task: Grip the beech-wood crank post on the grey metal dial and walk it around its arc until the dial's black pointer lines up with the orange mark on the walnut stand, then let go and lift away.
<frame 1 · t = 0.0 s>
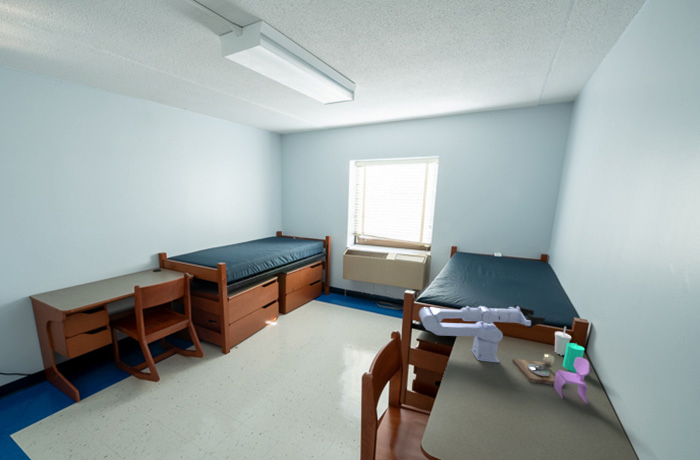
hand: (538, 316, 119), 22 cm above the table, tool horizontal, fingers open, 7 cm apart
candle: (570, 368, 120), on the table
smoothie: (559, 353, 131), on the table
chair: (569, 395, 102), on the table
stand: (536, 373, 114), on the table
crank dial: (542, 363, 113), point 4 cm above the table, hinge at 0.0°
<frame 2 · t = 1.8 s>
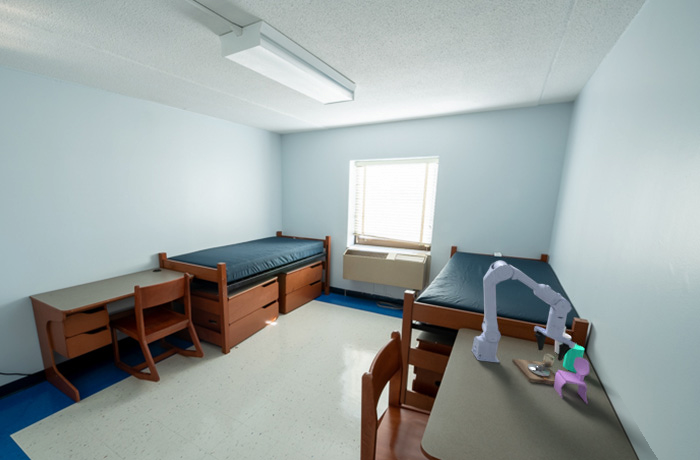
hand: (549, 354, 115), 8 cm above the table, tool pointing down, fingers open, 7 cm apart
nothing on the table moved.
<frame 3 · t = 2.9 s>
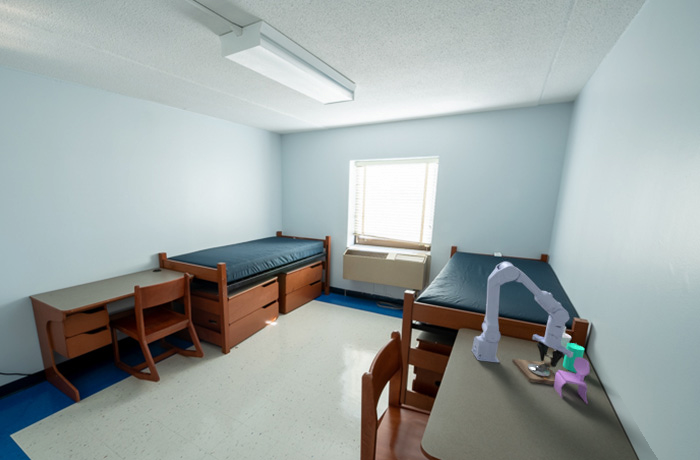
hand: (548, 363, 115), 4 cm above the table, tool pointing down, fingers closed on crank dial, 4 cm apart
crank dial: (542, 363, 113), point 4 cm above the table, hinge at 0.0°, touching gripper
everything else where it was.
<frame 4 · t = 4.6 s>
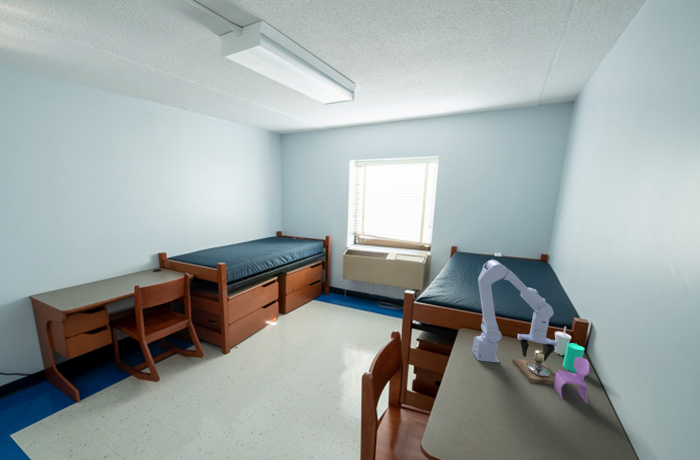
hand: (533, 357, 119), 4 cm above the table, tool pointing down, fingers open, 7 cm apart
crank dial: (539, 362, 114), point 4 cm above the table, hinge at 30.5°, touching gripper
everything else where it was.
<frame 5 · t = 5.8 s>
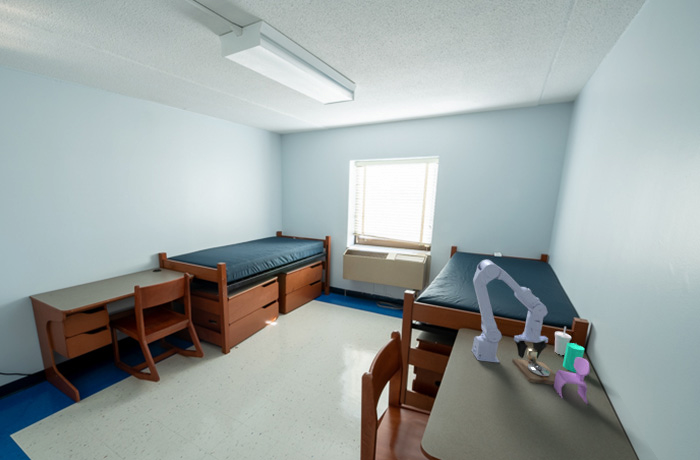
hand: (527, 356, 119), 4 cm above the table, tool pointing down, fingers open, 6 cm apart
crank dial: (536, 361, 115), point 4 cm above the table, hinge at 54.6°, touching gripper
everything else where it was.
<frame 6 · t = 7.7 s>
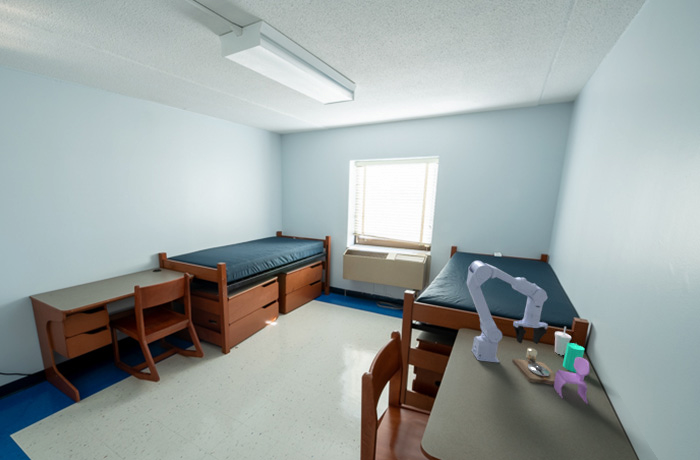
hand: (527, 342, 120), 10 cm above the table, tool pointing down, fingers open, 7 cm apart
crank dial: (536, 361, 115), point 4 cm above the table, hinge at 55.8°
everything else where it was.
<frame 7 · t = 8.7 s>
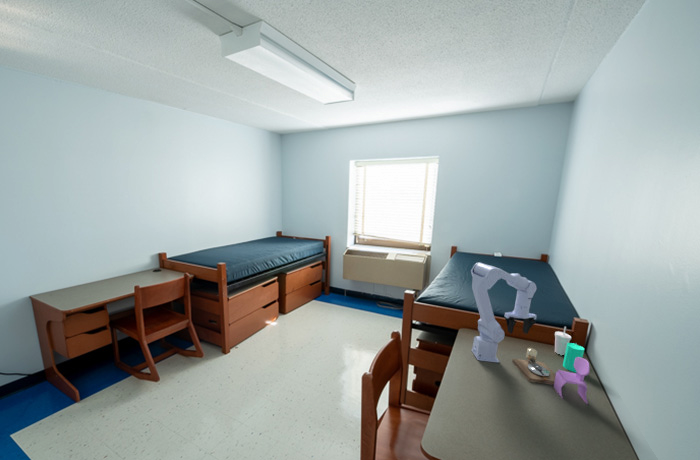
hand: (517, 332, 127), 10 cm above the table, tool pointing down, fingers open, 7 cm apart
nothing on the table moved.
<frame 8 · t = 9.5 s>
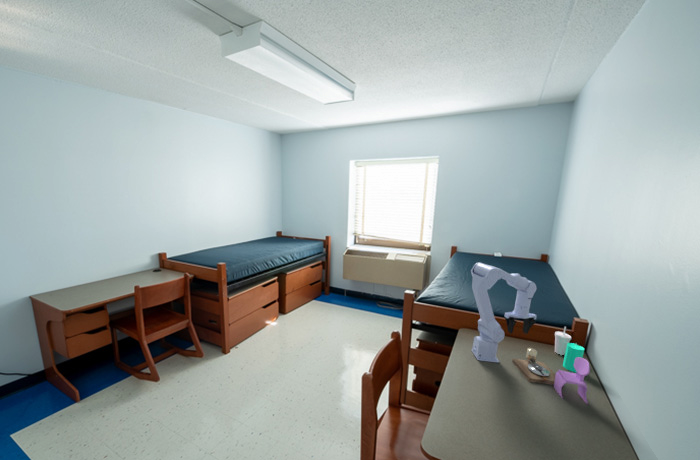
hand: (517, 332, 127), 10 cm above the table, tool pointing down, fingers open, 7 cm apart
nothing on the table moved.
at the end: crank dial at +56° (first picture: +0°); the gripper is holding nothing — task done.
